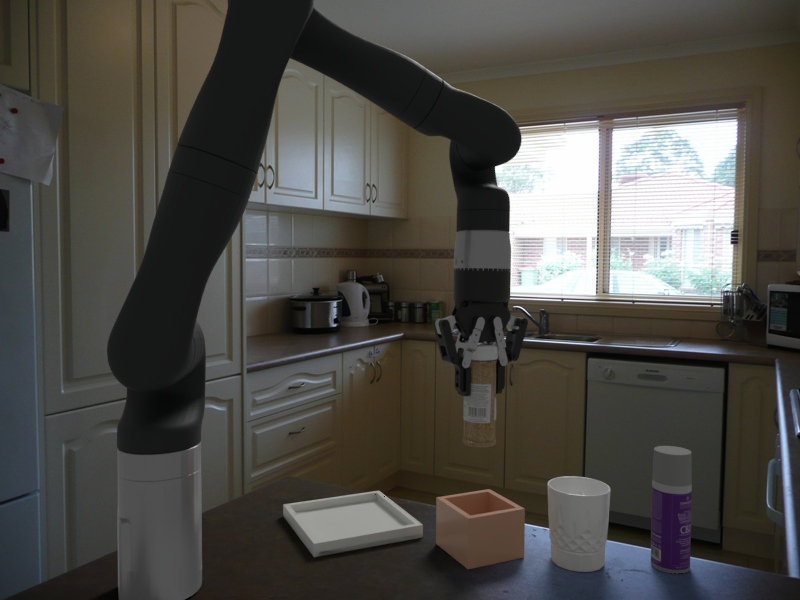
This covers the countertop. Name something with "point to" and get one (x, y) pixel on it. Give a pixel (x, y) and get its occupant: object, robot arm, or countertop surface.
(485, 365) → the sprinkles bottle
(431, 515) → the countertop surface
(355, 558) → the countertop surface
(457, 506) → the pot
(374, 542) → the tray
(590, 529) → the white cup
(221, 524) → the countertop surface
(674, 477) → the container
